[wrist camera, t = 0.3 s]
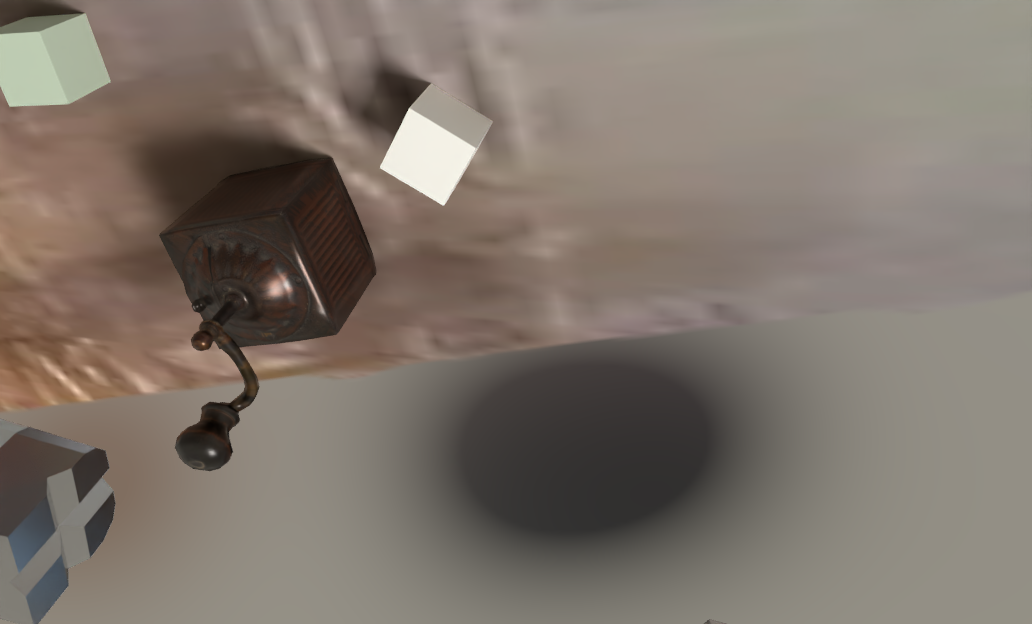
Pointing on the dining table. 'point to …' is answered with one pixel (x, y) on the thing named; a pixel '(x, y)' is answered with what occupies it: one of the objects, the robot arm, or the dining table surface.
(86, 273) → the dining table surface
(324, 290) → the manual coffee grinder
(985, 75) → the dining table surface
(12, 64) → the sage block
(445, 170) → the off-white block
